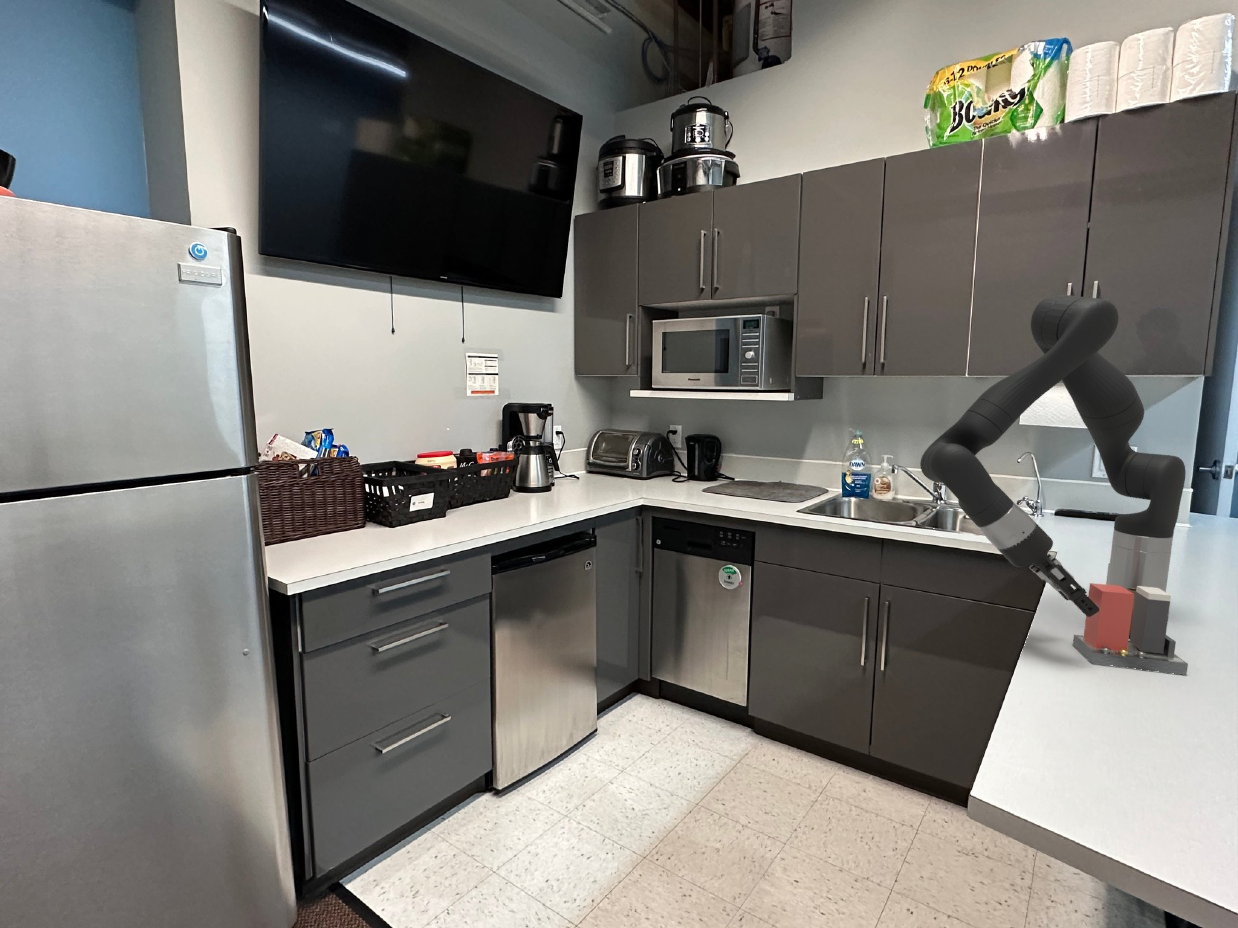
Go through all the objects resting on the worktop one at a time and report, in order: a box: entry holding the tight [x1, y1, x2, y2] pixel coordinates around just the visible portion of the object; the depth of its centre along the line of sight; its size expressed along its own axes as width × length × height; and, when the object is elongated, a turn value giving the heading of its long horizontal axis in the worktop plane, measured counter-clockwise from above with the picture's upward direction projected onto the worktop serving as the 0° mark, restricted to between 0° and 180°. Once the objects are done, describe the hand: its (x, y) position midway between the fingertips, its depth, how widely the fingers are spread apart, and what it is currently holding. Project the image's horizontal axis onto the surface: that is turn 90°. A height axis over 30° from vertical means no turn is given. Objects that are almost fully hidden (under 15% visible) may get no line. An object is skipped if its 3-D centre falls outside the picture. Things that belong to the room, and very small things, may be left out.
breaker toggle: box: [1129, 586, 1172, 654], centre depth 104 cm, size 3×4×10 cm
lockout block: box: [1083, 582, 1134, 651], centre depth 106 cm, size 4×4×10 cm
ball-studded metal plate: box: [1072, 634, 1189, 676], centre depth 106 cm, size 13×8×5 cm, turn 73°
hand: (1082, 604), depth 107 cm, fingers open, 8 cm apart
